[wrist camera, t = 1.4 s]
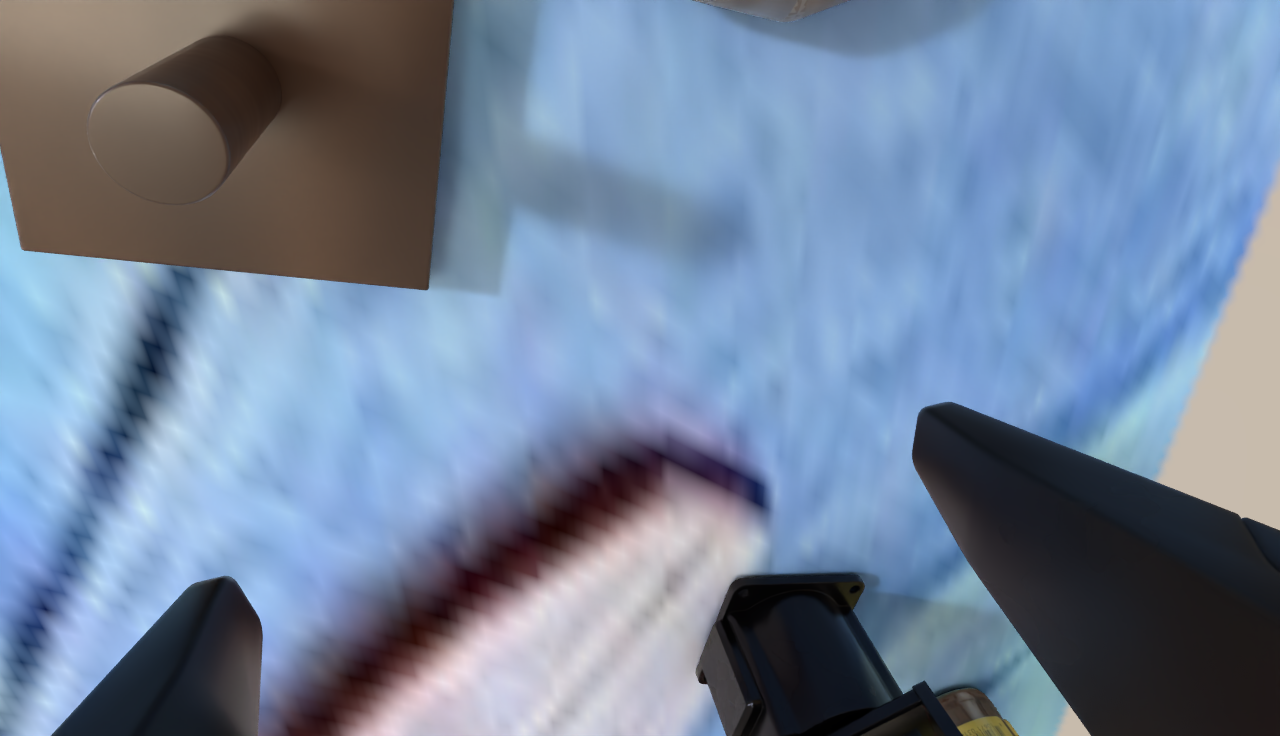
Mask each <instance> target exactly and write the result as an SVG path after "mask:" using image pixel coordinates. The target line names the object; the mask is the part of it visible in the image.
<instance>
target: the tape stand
mask: <svg viewBox="0 0 1280 736" xmlns="http://www.w3.org/2000/svg"><path fill="white" fill-rule="evenodd" d="M453 10H454V0H0V149H1V153H2V158H3V163H4V168H5V173H6V178H7V182H8V187H9V192H10V197H11V202H12V206H13V211H14V216H15V221H16V226H17V230H18V235H19V240H20V245H21V249H22V250H24V251H34V252H44V253H54V254H64V255H75V256H85V257H95V258H105V259H115V260H125V261H135V262H145V263H156V264H166V265H176V266H186V267H196V268H206V269H216V270H226V271H237V272H247V273H257V274H267V275H277V276H287V277H297V278H307V279H318V280H328V281H338V282H348V283H358V284H368V285H378V286H388V287H399V288H409V289H419V290H428V288H429V280H430V269H431V258H432V246H433V235H434V224H435V213H436V201H437V190H438V179H439V168H440V156H441V145H442V134H443V123H444V111H445V100H446V89H447V78H448V66H449V55H450V44H451V33H452V21H453Z"/></svg>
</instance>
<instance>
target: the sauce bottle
mask: <svg viewBox="0 0 1280 736" xmlns="http://www.w3.org/2000/svg"><path fill="white" fill-rule="evenodd" d="M936 698H937V699H938V701H939V702H940V703H941V705H942V706H943V708H944V709H945V711H946V712H947V714H948V715H949V716H950V718H951V719H952V721H953V722H954V724H955V725H956V726H957V728H958V729H959V731H960V732H961V734H962V735H963V736H1019V735H1018V734H1017V732H1016V731H1015V730H1014V728H1013V727H1012V725H1011V724H1010V723H1009V722H1008V721H1007V720H1005V719H1003V718H1002V717H1001V715H1000V714H999V712H998V711H997V708H996V707H995V706H994V705H993V703H992V702H991V701H990V699H989V698H988V697H987V696H986V695H985V694H984V693H982V692H980V691H979V690H978V689H974V688H963V689H956V690H953V691H950V692H947V693H944V694H942V695H940V696H938V697H936Z"/></svg>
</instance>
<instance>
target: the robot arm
mask: <svg viewBox="0 0 1280 736" xmlns="http://www.w3.org/2000/svg"><path fill="white" fill-rule="evenodd" d="M912 459H913V463H914V466H915V469H916V471H917V473H918V475H919V476H920V478H921V480H922V482H923V483H924V485H925V487H926V489H927V491H928V492H929V494H930V496H931V498H932V499H933V501H934V503H935V505H936V507H937V508H938V510H939V512H940V514H941V515H942V517H943V519H944V521H945V523H946V524H947V526H948V528H949V530H950V531H951V533H952V535H953V537H954V539H955V540H956V542H957V544H958V546H959V547H960V549H961V551H962V552H963V554H964V556H965V557H966V559H967V561H968V562H969V564H970V565H971V567H972V568H973V570H974V571H975V573H976V574H977V575H978V577H979V578H980V580H981V581H982V583H983V584H984V585H985V587H986V588H987V590H988V591H989V592H990V594H991V595H992V597H993V598H994V599H995V601H996V602H997V604H998V605H999V606H1000V608H1001V609H1002V611H1003V612H1004V614H1005V615H1006V616H1007V618H1008V619H1009V621H1010V622H1011V623H1012V625H1013V626H1014V628H1015V629H1016V630H1017V632H1018V633H1019V635H1020V636H1021V637H1022V639H1023V640H1024V642H1025V643H1026V644H1027V646H1028V647H1029V649H1030V650H1031V652H1032V653H1033V654H1034V656H1035V657H1036V659H1037V660H1038V661H1039V663H1040V664H1041V666H1042V667H1043V668H1044V670H1045V671H1046V673H1047V674H1048V675H1049V677H1050V678H1051V680H1052V681H1053V682H1054V684H1055V685H1056V687H1057V688H1058V690H1059V691H1060V692H1061V694H1062V695H1063V697H1064V698H1065V699H1066V701H1067V702H1068V704H1069V705H1070V706H1071V708H1072V709H1073V711H1074V712H1075V713H1076V715H1077V716H1078V718H1079V719H1080V720H1081V722H1082V723H1083V724H1084V726H1085V727H1086V729H1087V730H1088V732H1089V733H1090V735H1091V736H1280V530H1277V529H1275V528H1272V527H1269V526H1267V525H1265V524H1262V523H1260V522H1257V521H1254V520H1252V519H1249V518H1242V519H1241V517H1240V516H1239V515H1238V514H1236V513H1234V512H1231V511H1229V510H1226V509H1223V508H1221V507H1218V506H1216V505H1213V504H1211V503H1208V502H1205V501H1203V500H1200V499H1198V498H1195V497H1193V496H1190V495H1188V494H1185V493H1183V492H1180V491H1178V490H1175V489H1173V488H1170V487H1167V486H1165V485H1162V484H1160V483H1157V482H1155V481H1152V480H1150V479H1147V478H1145V477H1142V476H1139V475H1137V474H1134V473H1132V472H1129V471H1127V470H1124V469H1122V468H1119V467H1116V466H1114V465H1111V464H1109V463H1106V462H1104V461H1101V460H1099V459H1096V458H1094V457H1091V456H1088V455H1086V454H1083V453H1081V452H1078V451H1076V450H1073V449H1071V448H1068V447H1066V446H1063V445H1060V444H1058V443H1055V442H1053V441H1050V440H1048V439H1045V438H1043V437H1040V436H1038V435H1035V434H1032V433H1030V432H1027V431H1025V430H1022V429H1020V428H1017V427H1015V426H1012V425H1009V424H1007V423H1004V422H1002V421H999V420H997V419H994V418H992V417H989V416H987V415H984V414H981V413H979V412H976V411H974V410H971V409H969V408H966V407H964V406H961V405H959V404H956V403H953V402H943V403H939V404H935V405H931V406H927V407H924V408H923V409H921V411H920V412H919V414H918V418H917V424H916V430H915V437H914V443H913V450H912ZM864 588H865V585H864V582H863V581H862V579H861V578H860V577H859V576H858V575H825V576H791V577H756V578H740V579H738V580H735V581H734V582H733V583H732V584H731V585H730V587H729V590H728V592H727V595H726V597H725V600H724V602H723V605H722V607H721V610H720V612H719V615H718V617H717V620H716V622H715V624H714V625H713V628H712V630H711V633H710V635H709V638H708V640H707V643H706V645H705V648H704V650H703V653H702V655H701V658H700V662H699V664H698V667H697V669H696V675H697V678H698V681H699V683H701V684H708V686H709V688H710V691H711V694H712V697H713V700H714V702H715V705H716V708H717V711H718V714H719V716H720V719H721V722H722V725H723V728H724V730H725V733H726V736H963V735H962V734H961V732H960V731H959V729H958V728H957V726H956V725H955V724H954V722H953V721H952V719H951V718H950V716H949V715H948V714H947V712H946V711H945V709H944V708H943V706H942V705H941V703H940V702H939V701H938V699H937V698H936V696H935V695H934V693H933V692H932V691H931V689H930V688H929V686H928V685H927V683H926V682H925V681H922V682H920V683H918V684H916V685H914V686H913V687H912V688H913V689H912V690H911V691H909V692H907V693H905V694H903V693H902V691H901V690H900V688H899V686H898V685H897V683H896V681H895V680H894V678H893V676H892V675H891V673H890V671H889V670H888V668H887V666H886V665H885V663H884V661H883V660H882V658H881V656H880V655H879V653H878V651H877V650H876V648H875V646H874V645H873V643H872V641H871V640H870V638H869V637H868V635H867V633H866V632H865V630H864V628H863V627H862V625H861V623H860V622H859V620H858V618H857V617H856V615H855V613H854V612H853V609H854V607H855V605H856V603H857V601H858V600H859V598H860V596H861V594H862V592H863V590H864ZM262 640H263V634H262V626H261V622H260V619H259V617H258V615H257V614H256V612H255V610H254V609H253V607H252V605H251V604H250V602H249V601H248V599H247V597H246V596H245V594H244V593H243V591H242V589H241V588H240V586H239V585H238V583H237V582H236V581H235V579H233V578H232V577H229V576H221V577H217V578H213V579H209V580H205V581H201V582H197V583H195V584H192V585H191V586H190V587H188V588H187V589H186V590H185V591H184V592H183V593H182V595H181V596H180V597H179V598H178V599H177V600H176V601H175V602H174V603H173V604H172V605H171V606H170V608H169V609H168V610H167V611H166V612H165V613H164V614H163V615H162V616H161V617H160V618H159V619H158V620H157V622H156V623H155V624H154V625H153V626H152V627H151V628H150V629H149V630H148V631H147V632H146V633H145V635H144V636H143V637H142V638H141V639H140V640H139V641H138V642H137V643H136V644H135V645H134V646H133V648H132V649H131V650H130V651H129V652H128V653H127V654H126V655H125V656H124V657H123V658H122V659H121V660H120V662H119V663H118V664H117V665H116V666H115V667H114V668H113V669H112V670H111V671H110V672H109V673H108V675H107V676H106V677H105V678H104V679H103V680H102V681H101V682H100V683H99V684H98V685H97V686H96V687H95V689H94V690H93V691H92V692H91V693H90V694H89V695H88V696H87V697H86V698H85V699H84V700H83V702H82V703H81V704H80V705H79V706H78V707H77V708H76V709H75V710H74V711H73V712H72V713H71V715H70V716H69V717H68V718H67V719H66V720H65V721H64V722H63V723H62V724H61V725H60V726H59V727H58V729H57V730H56V731H55V732H54V733H53V734H52V735H51V736H258V720H259V700H260V680H261V660H262Z"/></svg>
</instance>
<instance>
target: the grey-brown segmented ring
mask: <svg viewBox="0 0 1280 736" xmlns="http://www.w3.org/2000/svg"><path fill="white" fill-rule="evenodd" d="M693 1H697V2H701V3H705V4H708V5H712V6H716V7H720V8H724V9H728V10H732V11H736V12H740V13H744V14H748V15H752V16H756V17H760V18H764V19H768V20H772V21H776V22H793V21H797V20H800V19H802V18H805V17H808V16H810V15H813V14H816V13H818V12H821V11H824V10H826V9H829V8H832V7H834V6H837V5H840V4H842V3H845V2H847V1H850V0H693Z"/></svg>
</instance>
